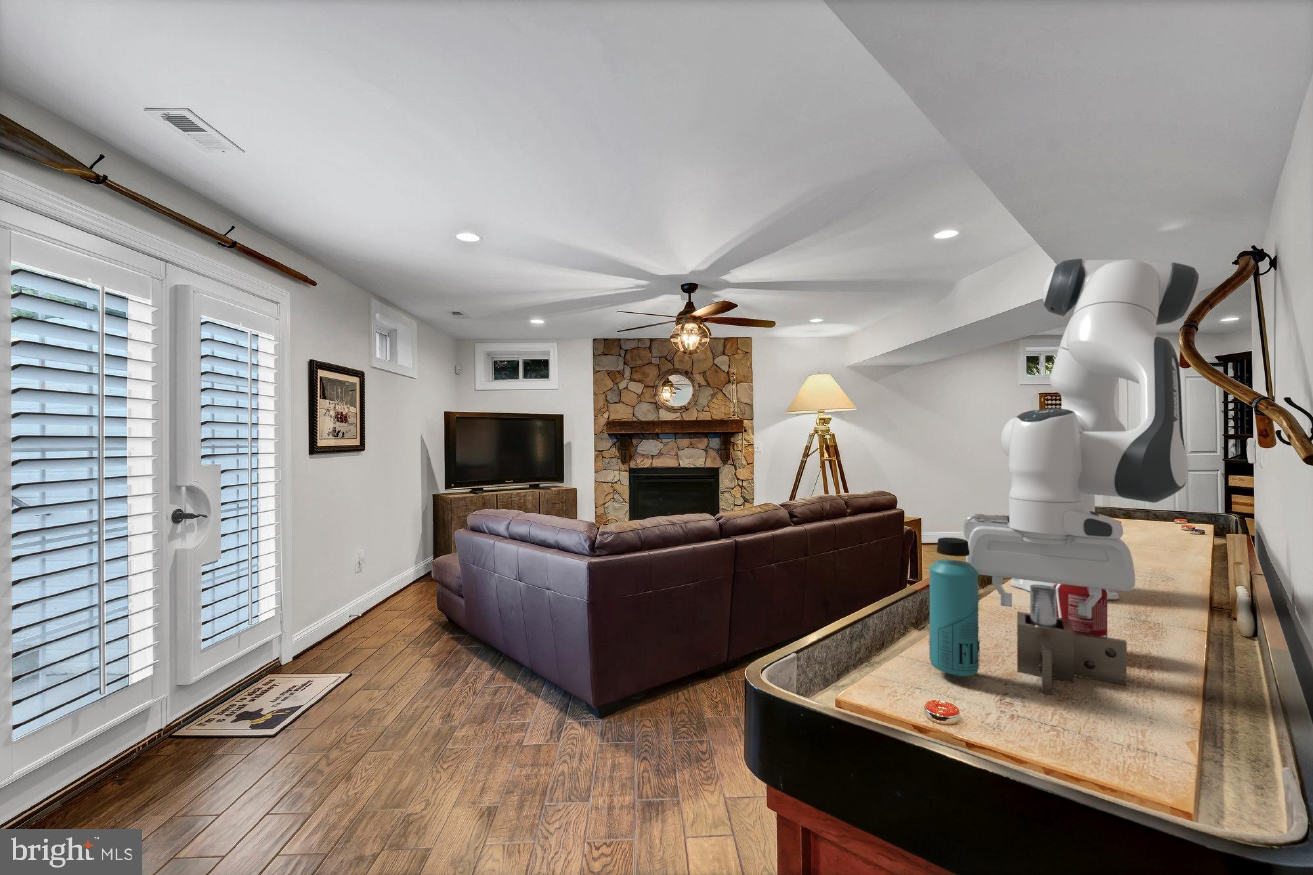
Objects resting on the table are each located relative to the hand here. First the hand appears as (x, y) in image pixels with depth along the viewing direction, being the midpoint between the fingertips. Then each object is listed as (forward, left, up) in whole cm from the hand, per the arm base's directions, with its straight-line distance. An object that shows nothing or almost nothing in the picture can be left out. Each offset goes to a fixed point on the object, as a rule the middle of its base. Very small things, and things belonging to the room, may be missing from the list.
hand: (1044, 611), depth 80 cm
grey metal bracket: (+3, +3, -9) cm, 10 cm away
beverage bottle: (+10, -11, -9) cm, 17 cm away
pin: (0, 0, -9) cm, 9 cm away
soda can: (-10, +5, -9) cm, 14 cm away
